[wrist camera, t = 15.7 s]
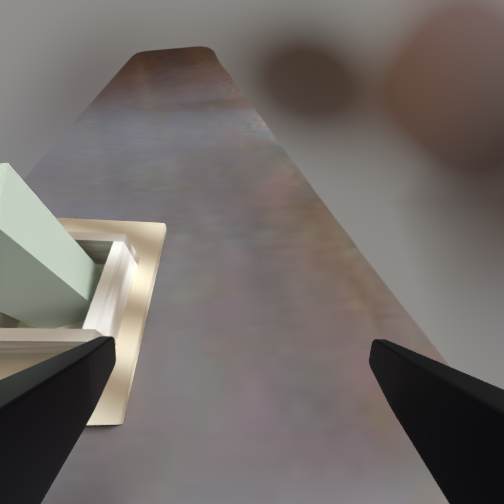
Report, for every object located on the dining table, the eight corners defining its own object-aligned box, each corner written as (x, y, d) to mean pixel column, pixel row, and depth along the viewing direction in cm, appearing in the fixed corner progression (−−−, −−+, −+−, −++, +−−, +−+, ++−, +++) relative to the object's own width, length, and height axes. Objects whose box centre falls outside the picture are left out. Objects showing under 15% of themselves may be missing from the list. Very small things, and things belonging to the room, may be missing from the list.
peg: (104, 314, 21) (-5, 224, 11) (44, 331, 20) (-140, 249, 10) (101, 271, 23) (7, 162, 13) (47, 284, 22) (-102, 176, 12)
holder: (122, 423, 18) (92, 427, 14) (-61, 427, 17) (-155, 432, 13) (166, 228, 28) (156, 196, 23) (52, 223, 27) (21, 188, 22)
